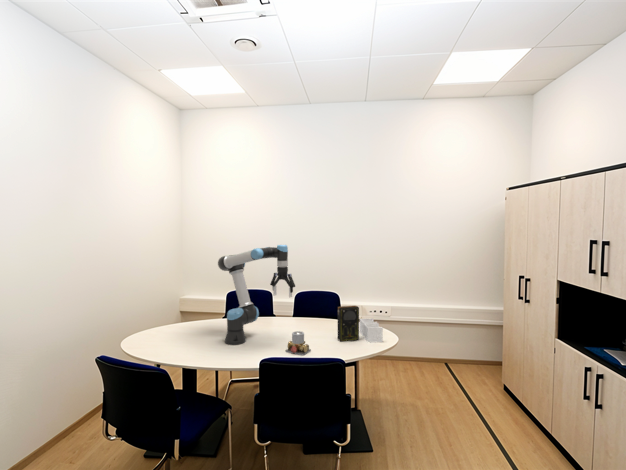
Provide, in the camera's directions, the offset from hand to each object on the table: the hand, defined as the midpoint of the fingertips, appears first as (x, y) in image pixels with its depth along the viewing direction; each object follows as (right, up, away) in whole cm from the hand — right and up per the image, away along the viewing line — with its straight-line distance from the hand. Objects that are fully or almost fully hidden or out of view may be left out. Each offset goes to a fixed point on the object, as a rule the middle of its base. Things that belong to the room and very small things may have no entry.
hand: (282, 296), depth 248 cm
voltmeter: (+48, -35, +11) cm, 60 cm away
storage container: (+66, -35, +18) cm, 76 cm away
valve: (+12, -35, -13) cm, 39 cm away
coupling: (+12, -29, -13) cm, 33 cm away
